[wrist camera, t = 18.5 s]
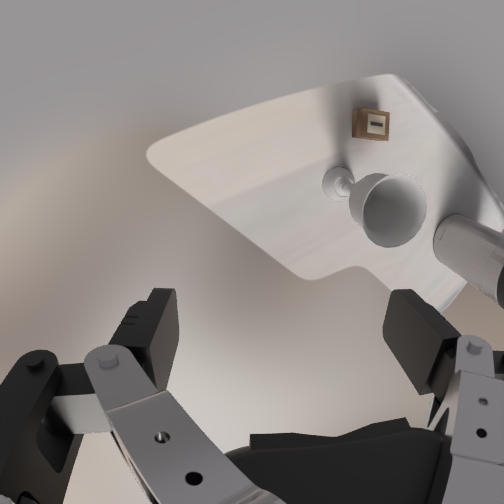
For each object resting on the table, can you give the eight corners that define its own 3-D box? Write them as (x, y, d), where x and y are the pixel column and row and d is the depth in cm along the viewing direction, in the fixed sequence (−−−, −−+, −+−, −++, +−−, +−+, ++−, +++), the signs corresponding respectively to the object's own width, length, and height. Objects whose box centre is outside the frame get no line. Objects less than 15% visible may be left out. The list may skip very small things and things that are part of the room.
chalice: (342, 150, 42) (402, 157, 25) (370, 185, 44) (438, 212, 27) (305, 184, 43) (346, 210, 26) (335, 218, 45) (387, 262, 28)
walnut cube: (376, 140, 42) (389, 140, 38) (351, 137, 41) (362, 136, 37) (377, 114, 40) (390, 112, 36) (352, 110, 40) (363, 107, 36)
